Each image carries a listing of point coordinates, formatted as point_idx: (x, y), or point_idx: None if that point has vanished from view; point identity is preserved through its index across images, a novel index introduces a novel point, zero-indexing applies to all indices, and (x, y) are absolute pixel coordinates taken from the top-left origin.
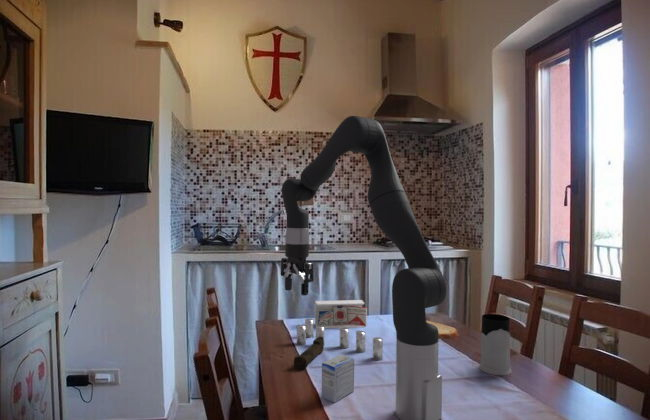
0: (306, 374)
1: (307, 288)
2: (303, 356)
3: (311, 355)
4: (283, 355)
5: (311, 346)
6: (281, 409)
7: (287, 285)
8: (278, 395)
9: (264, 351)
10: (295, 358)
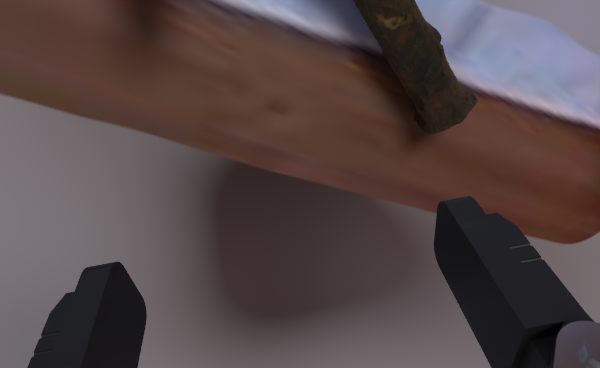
0: (489, 100)
1: (542, 275)
2: (454, 103)
3: (440, 45)
4: (270, 95)
5: (376, 3)
6: (579, 230)
7: (128, 356)
8: (524, 216)
9: (186, 143)
10: (434, 131)
